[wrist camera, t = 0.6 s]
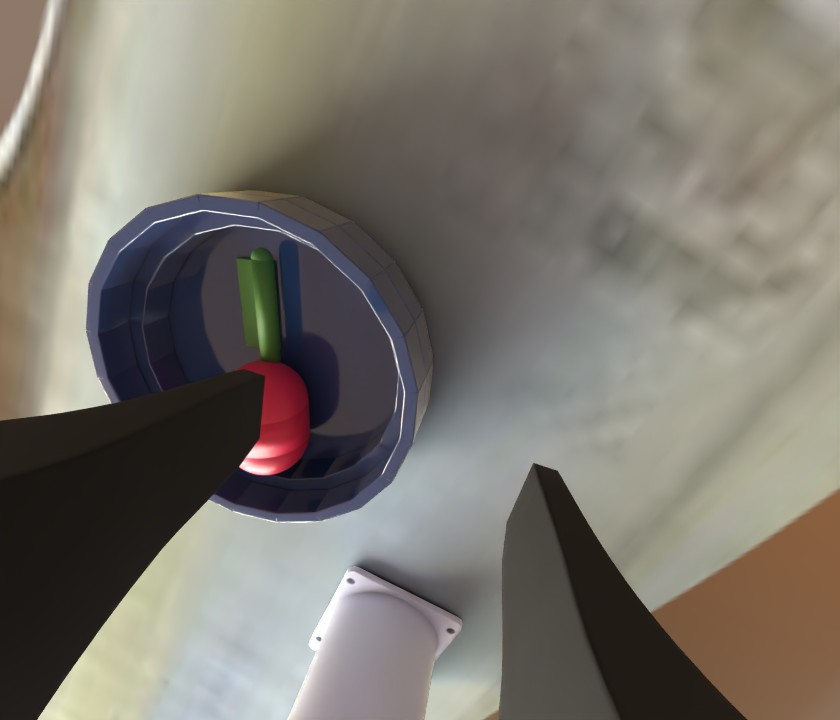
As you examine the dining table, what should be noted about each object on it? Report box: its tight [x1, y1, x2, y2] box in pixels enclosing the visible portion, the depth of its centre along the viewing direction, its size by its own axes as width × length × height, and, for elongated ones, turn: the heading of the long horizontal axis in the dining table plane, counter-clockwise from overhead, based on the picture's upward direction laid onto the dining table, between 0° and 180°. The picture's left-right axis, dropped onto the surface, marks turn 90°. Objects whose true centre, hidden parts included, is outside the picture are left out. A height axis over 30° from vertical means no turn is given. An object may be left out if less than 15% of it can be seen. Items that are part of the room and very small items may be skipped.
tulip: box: [235, 248, 310, 475], centre depth 20 cm, size 11×4×4 cm, turn 176°
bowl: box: [86, 190, 434, 522], centre depth 20 cm, size 15×15×4 cm
